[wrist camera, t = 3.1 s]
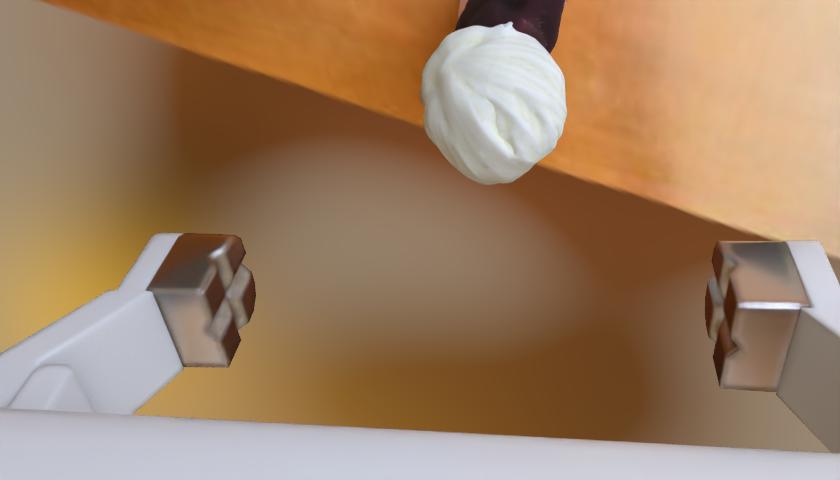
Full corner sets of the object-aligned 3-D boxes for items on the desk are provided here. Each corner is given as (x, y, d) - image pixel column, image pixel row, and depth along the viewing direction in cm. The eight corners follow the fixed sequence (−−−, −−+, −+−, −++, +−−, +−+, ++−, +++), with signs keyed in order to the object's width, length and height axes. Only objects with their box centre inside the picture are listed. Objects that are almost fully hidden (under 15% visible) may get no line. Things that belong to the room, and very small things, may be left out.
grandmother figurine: (522, 65, 28) (501, 295, 19) (427, 25, 28) (355, 238, 18) (630, -143, 24) (676, 21, 14) (517, -195, 23) (483, -65, 13)
